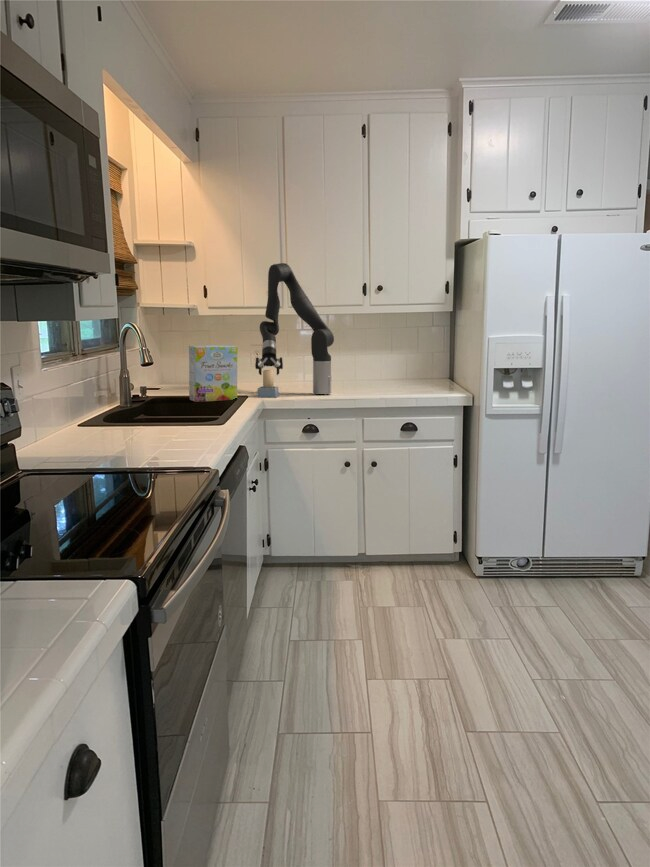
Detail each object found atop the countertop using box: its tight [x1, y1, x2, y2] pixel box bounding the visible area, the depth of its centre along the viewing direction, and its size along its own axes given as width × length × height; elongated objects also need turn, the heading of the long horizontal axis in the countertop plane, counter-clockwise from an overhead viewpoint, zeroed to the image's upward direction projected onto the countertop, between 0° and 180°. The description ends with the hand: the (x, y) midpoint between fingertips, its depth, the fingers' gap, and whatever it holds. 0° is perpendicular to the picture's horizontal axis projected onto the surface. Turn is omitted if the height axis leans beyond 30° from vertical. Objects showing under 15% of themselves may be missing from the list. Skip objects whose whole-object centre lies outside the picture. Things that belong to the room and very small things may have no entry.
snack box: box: [188, 344, 238, 403], centre depth 292 cm, size 22×9×26 cm, turn 123°
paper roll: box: [262, 369, 275, 388], centre depth 309 cm, size 5×5×12 cm
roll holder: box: [256, 385, 281, 399], centre depth 310 cm, size 10×9×4 cm
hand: (269, 374), depth 319 cm, fingers open, 8 cm apart
